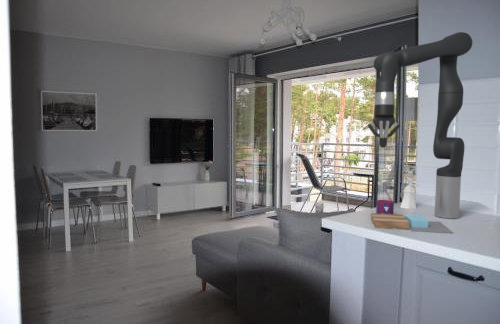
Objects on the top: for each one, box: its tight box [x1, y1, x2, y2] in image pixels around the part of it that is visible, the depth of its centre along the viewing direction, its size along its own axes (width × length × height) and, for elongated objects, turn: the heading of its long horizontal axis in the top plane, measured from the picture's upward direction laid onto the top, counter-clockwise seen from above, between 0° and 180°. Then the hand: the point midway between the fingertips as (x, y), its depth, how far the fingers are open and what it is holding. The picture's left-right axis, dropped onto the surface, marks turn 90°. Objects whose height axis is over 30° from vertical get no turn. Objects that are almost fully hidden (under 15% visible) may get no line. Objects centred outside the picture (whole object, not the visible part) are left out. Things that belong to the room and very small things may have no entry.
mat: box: [409, 220, 454, 234], centre depth 146 cm, size 16×14×1 cm
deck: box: [370, 212, 410, 230], centre depth 149 cm, size 14×12×2 cm
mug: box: [375, 199, 395, 214], centre depth 163 cm, size 7×10×7 cm
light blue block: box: [404, 214, 429, 228], centre depth 148 cm, size 9×6×2 cm, turn 173°
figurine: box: [399, 169, 420, 210], centre depth 182 cm, size 7×8×18 cm
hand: (382, 147), depth 157 cm, fingers closed
